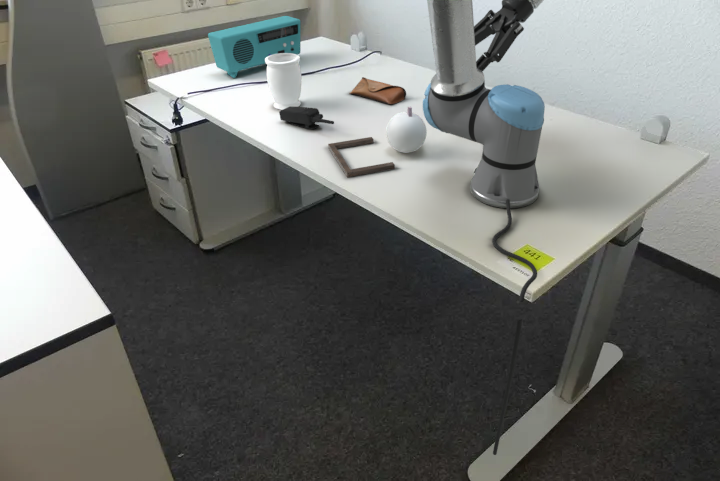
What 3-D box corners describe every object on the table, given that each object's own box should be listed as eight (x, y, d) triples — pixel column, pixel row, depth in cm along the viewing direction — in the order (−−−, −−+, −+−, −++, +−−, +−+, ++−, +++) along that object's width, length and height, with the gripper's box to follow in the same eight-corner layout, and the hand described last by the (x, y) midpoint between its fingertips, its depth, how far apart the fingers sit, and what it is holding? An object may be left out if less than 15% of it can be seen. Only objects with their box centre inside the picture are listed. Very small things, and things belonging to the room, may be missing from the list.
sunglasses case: (346, 93, 178) (352, 72, 177) (358, 98, 184) (364, 78, 183) (391, 104, 169) (398, 83, 168) (402, 109, 175) (408, 89, 174)
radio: (229, 82, 192) (222, 38, 183) (214, 75, 198) (206, 32, 189) (305, 60, 210) (302, 19, 201) (289, 54, 216) (285, 15, 208)
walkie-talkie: (294, 108, 165) (346, 116, 154) (287, 127, 164) (338, 136, 153) (281, 98, 159) (334, 106, 148) (274, 118, 159) (326, 127, 148)
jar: (280, 114, 166) (275, 65, 158) (264, 104, 173) (258, 57, 165) (310, 106, 171) (306, 58, 163) (293, 97, 178) (288, 50, 170)
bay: (394, 169, 136) (394, 164, 135) (347, 177, 133) (347, 173, 132) (371, 140, 150) (371, 136, 149) (328, 147, 147) (328, 143, 146)
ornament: (432, 152, 143) (435, 109, 136) (400, 162, 139) (401, 118, 132) (410, 138, 150) (412, 96, 143) (379, 147, 146) (379, 104, 139)
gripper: (557, 20, 125) (488, 96, 130) (508, 1, 142) (448, 69, 147) (541, -3, 121) (470, 77, 126) (492, -20, 138) (431, 52, 143)
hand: (458, 73), depth 137 cm, fingers open, 9 cm apart
